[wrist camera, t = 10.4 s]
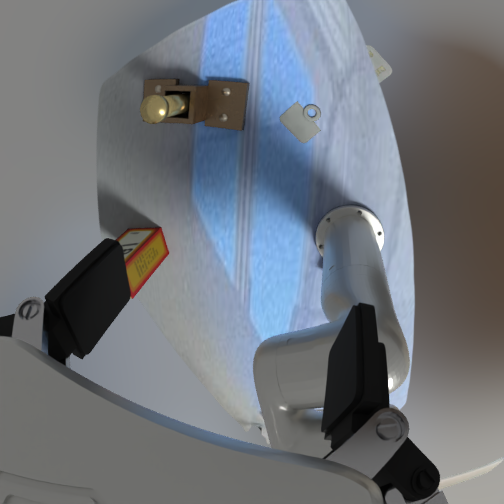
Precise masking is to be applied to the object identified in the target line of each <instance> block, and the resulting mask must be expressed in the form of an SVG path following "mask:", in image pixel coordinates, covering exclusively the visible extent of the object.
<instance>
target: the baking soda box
mask: <svg viewBox="0 0 504 504" xmlns="http://www.w3.org/2000/svg"><path fill="white" fill-rule="evenodd" d="M116 241H119V243H120V245H121V246H122V247H123V253H124V259H125V264H126V270H127V275H128V281H129V286H130V291H131V297H130V298H132V299H133V298H134V296H135V295H136V294H137V293H138V291H139V290H140V289H141V288H142V286H143V285H144V284H145V283H146V281H147V280H148V279H149V278H150V276H151V275H152V274H153V273H154V271H155V270H156V269H157V268H158V267H159V265H160V264H161V263H162V262H163V260H164V259H165V258H166V257H167V256H168V254H169V251H168V248H167V245H166V241H165V238H164V235H163V232H162V228H161V227H159V228H136V229H127V230H126V231H125V232H124V233H123V234H122V235H121V236H120V237H118V238H117V239H116Z"/></svg>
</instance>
